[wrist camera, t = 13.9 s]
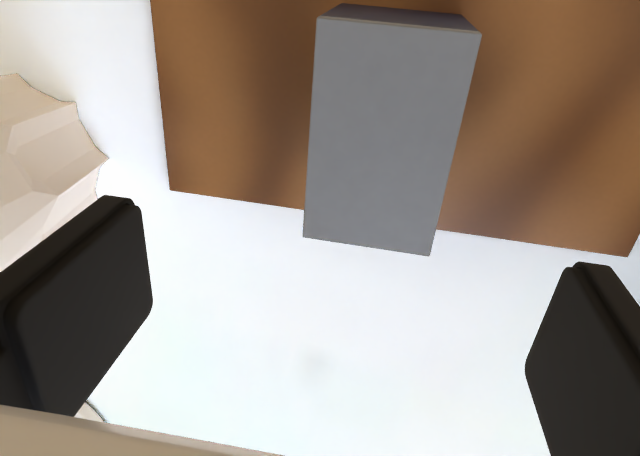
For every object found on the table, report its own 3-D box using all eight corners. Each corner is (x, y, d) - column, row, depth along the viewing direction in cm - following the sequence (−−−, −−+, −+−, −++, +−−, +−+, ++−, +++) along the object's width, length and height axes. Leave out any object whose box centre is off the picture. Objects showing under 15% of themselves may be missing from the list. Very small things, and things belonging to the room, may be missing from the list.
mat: (173, 186, 26) (169, 190, 25) (149, -68, 20) (142, -69, 19) (623, 251, 23) (628, 258, 23) (755, -16, 17) (767, -15, 17)
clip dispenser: (325, 177, 23) (302, 237, 18) (340, 2, 19) (316, 17, 14) (424, 190, 23) (429, 256, 18) (462, 14, 19) (482, 33, 13)
